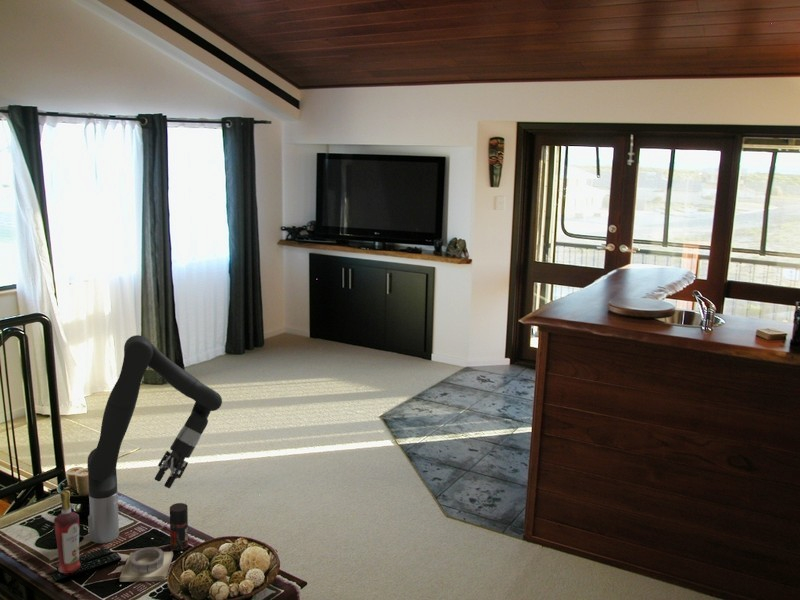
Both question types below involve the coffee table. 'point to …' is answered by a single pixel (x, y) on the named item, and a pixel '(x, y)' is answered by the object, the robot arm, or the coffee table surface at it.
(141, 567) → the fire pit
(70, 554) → the liquor
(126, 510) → the coffee table surface
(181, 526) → the deodorant
